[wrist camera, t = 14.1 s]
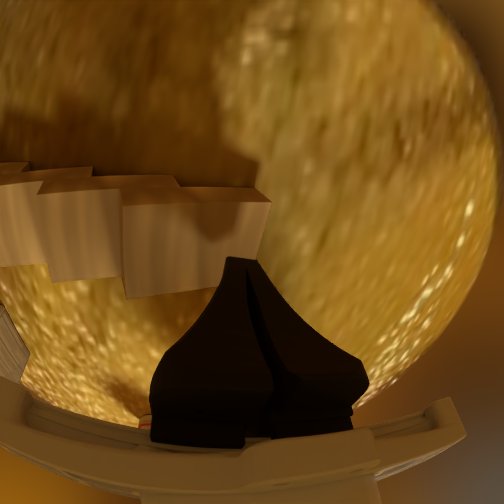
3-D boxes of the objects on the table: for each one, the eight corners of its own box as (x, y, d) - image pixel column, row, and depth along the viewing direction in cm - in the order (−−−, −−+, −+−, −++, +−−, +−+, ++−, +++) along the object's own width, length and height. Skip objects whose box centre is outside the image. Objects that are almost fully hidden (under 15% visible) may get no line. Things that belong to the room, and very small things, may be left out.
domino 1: (271, 202, 14) (123, 205, 10) (249, 281, 16) (126, 299, 13) (254, 187, 15) (120, 188, 11) (235, 263, 17) (121, 276, 14)
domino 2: (180, 187, 13) (36, 194, 9) (171, 270, 15) (51, 282, 12) (172, 174, 14) (43, 180, 10) (164, 252, 17) (54, 262, 13)
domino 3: (90, 177, 12) (-23, 189, 8) (94, 258, 14) (-5, 267, 11) (92, 166, 13) (-12, 176, 10) (94, 242, 16) (2, 250, 12)
